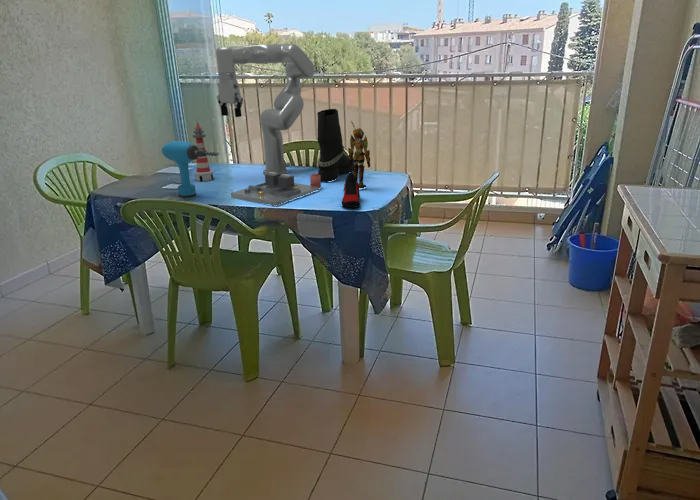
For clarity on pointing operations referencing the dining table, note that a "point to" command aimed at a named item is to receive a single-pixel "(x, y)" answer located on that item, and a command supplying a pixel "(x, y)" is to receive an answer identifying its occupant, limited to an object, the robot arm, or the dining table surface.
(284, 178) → the grey cube
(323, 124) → the boot
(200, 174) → the miniature lighthouse
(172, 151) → the power drill
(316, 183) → the lockout cap
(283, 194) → the panel
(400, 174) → the dining table surface
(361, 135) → the figurine
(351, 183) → the athletic shoe
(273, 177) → the dark grey cube
